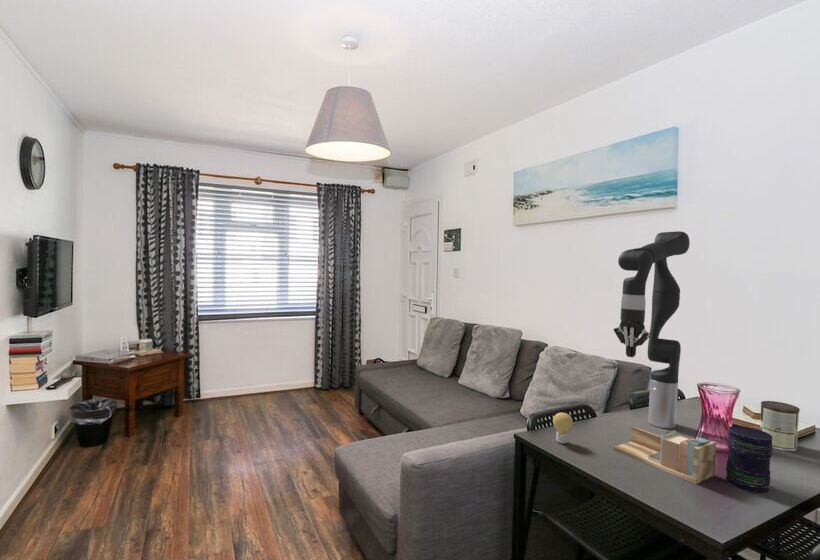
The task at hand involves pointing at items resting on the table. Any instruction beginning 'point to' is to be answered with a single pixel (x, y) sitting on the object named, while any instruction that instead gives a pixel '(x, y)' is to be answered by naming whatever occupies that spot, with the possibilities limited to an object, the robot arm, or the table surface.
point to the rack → (692, 461)
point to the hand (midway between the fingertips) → (630, 356)
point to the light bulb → (562, 426)
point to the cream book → (671, 451)
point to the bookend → (658, 456)
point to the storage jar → (749, 459)
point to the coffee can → (780, 424)
